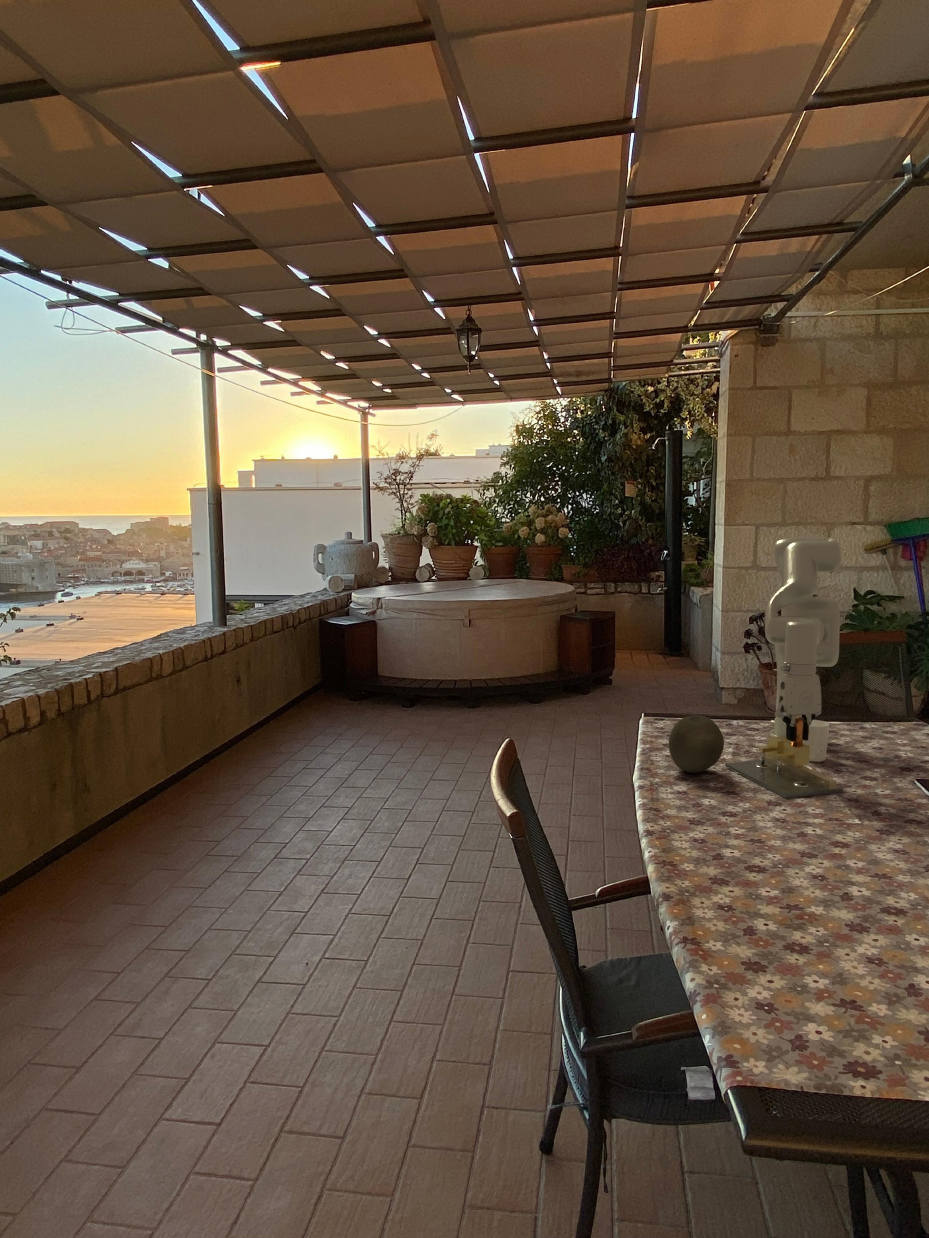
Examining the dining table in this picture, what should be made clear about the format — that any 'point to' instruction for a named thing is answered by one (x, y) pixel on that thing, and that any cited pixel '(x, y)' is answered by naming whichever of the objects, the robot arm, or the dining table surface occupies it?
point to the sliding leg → (795, 749)
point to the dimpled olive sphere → (695, 743)
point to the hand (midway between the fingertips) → (797, 739)
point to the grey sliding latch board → (784, 773)
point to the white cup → (818, 740)
